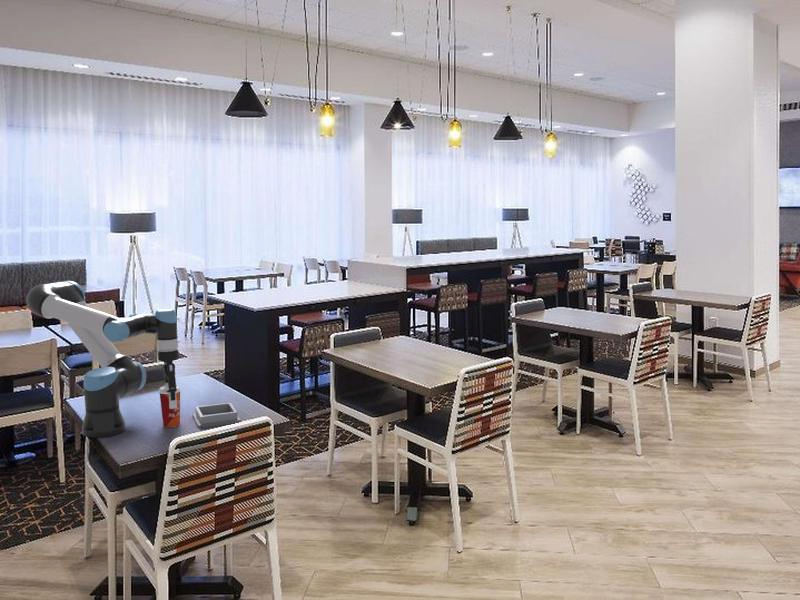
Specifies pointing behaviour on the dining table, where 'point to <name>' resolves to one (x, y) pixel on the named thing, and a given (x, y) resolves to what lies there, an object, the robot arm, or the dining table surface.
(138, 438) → the dining table surface
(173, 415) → the coffee cup
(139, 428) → the dining table surface
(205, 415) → the tray
